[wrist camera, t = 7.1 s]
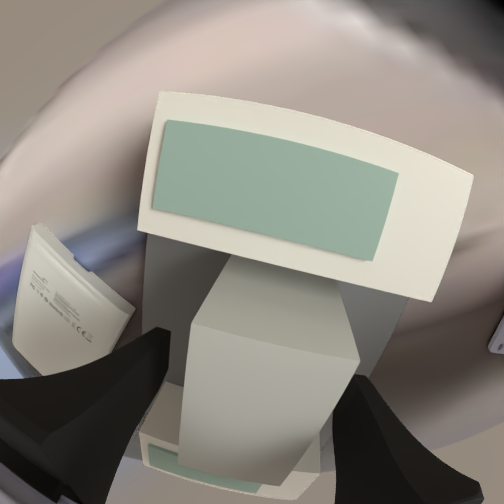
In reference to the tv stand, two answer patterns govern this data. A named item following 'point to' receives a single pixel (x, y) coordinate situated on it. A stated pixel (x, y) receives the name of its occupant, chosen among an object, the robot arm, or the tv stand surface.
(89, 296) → the external hard drive
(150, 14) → the tv stand surface
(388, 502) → the robot arm
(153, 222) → the rail panel
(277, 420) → the block
